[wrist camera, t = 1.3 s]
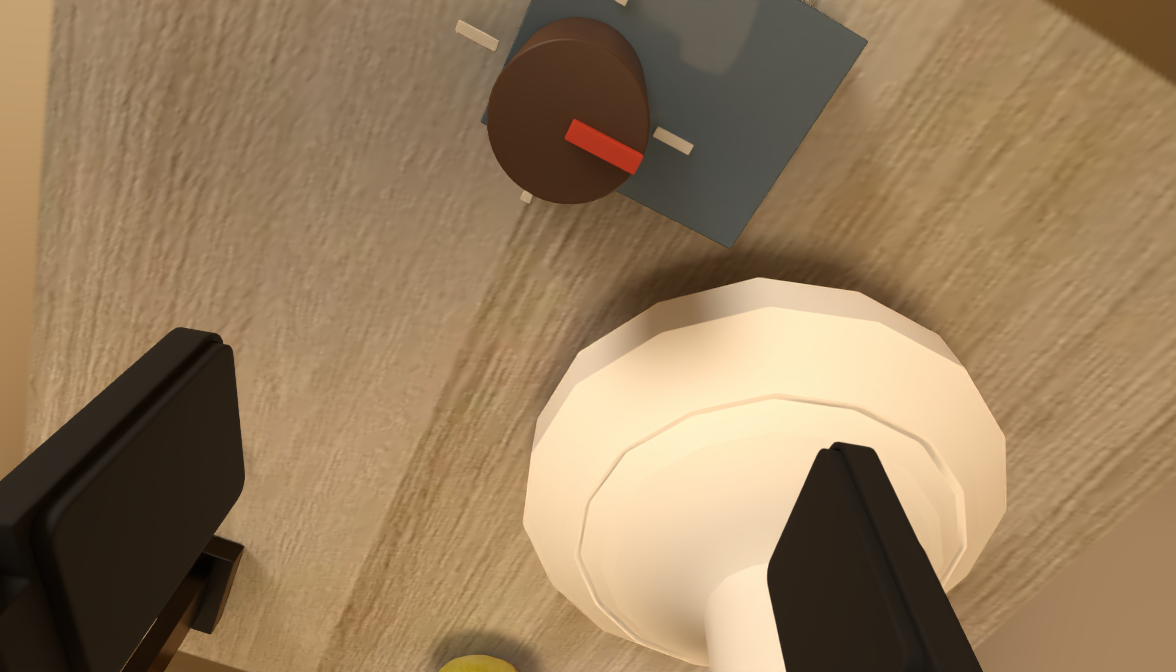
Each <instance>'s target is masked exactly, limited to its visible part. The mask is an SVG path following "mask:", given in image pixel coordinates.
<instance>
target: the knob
mask: <svg viewBox="0 0 1176 672" xmlns="http://www.w3.org/2000/svg"><path fill="white" fill-rule="evenodd" d="M487 130H488V135H489V140H490V144H491V147H492V150H493V152H494V154H495V156H496V158H497V160H498V162H499V164H500V165H501V167H502V168H503V170H504V171H505V172H506V173H507V175H508V176H509V177H510V178H511V179H512V180H513V181H514V182H515V183H516V184H517V185H518V186H520V187H521V188H522V189H524V190H525V191H527V192H529V193H530V194H532V195H534V196H536V197H538V198H541V199H543V200H546V201H550V202H554V203H560V204H581V203H587V202H591V201H594V200H597V199H600V198H603V197H605V196H606V195H608V194H610V193H612V192H613V191H615V190H616V189H618V188H619V187H620V186H622V185H623V184H624V183H625V182H626V181H627V180H628V179H629V178H630V176H631V175H634V174H635V172H636V170H637V168H638V167H639V165H640V163H641V161H642V159H643V156H644V153H645V150H646V147H647V144H648V139H649V134H650V112H649V105H648V98H647V91H646V84H645V78H644V73H643V68H642V65H641V62H640V60H639V58H638V56H637V54H636V52H635V50H634V49H633V47H632V46H631V44H630V43H629V42H628V41H627V39H626V38H625V37H624V36H623V35H622V34H620V33H619V32H618V31H617V30H615V29H614V28H612V27H611V26H609V25H607V24H605V23H603V22H601V21H598V20H594V19H590V18H584V17H571V18H564V19H560V20H557V21H554V22H552V23H550V24H547V25H546V26H544V27H543V28H541V29H539V30H538V31H537V32H536V33H535V34H533V35H532V36H531V38H530V39H529V40H528V41H527V42H526V43H525V44H524V45H523V47H522V48H521V49H520V50H519V51H518V52H517V54H516V55H515V56H514V57H513V58H512V59H511V61H510V62H509V63H508V64H507V65H506V66H505V67H504V69H503V70H502V72H501V73H500V75H499V76H498V78H497V80H496V82H495V84H494V86H493V89H492V91H491V94H490V98H489V103H488V108H487Z"/></svg>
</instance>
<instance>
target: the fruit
mask: <svg viewBox="0 0 1176 672" xmlns="http://www.w3.org/2000/svg"><path fill="white" fill-rule="evenodd" d="M439 672H519V671H518V670H517V669H516V668H515V667H514V666H512V665H511V664H510V663H509V662H507V661H505V660H502V659H498V658H494V657H491V656H488V655H468V656H463V657H459V658H456V659H453V660H451V661H450V662H448V663H447V664H446V665H444V666H443V667H442V668H441V669H440V671H439Z"/></svg>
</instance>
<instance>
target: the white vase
mask: <svg viewBox="0 0 1176 672" xmlns="http://www.w3.org/2000/svg"><path fill="white" fill-rule="evenodd" d="M834 442H844V443H850V444H856V445H861V446H867V447H871V448H873V449H874V450H875V451H876V453H877V455H878V457H879V459H880V461H881V463H882V465H883V467H884V469H885V472H886V474H887V476H888V478H889V480H890V482H891V484H892V486H893V488H894V490H895V493H896V495H897V497H898V499H899V501H900V503H901V505H902V507H903V509H904V511H905V513H906V516H907V518H908V520H909V522H910V524H911V526H912V528H913V530H914V532H915V534H916V536H917V539H918V541H919V543H920V544H921V546H922V547H923V549H924V550H925V552H926V554H927V556H928V558H929V560H930V563H931V565H932V567H933V569H934V571H935V573H936V575H937V577H938V579H939V581H940V583H941V585H942V588H943V590H944V592H945V594H946V593H947V592H948V591H949V590H950V589H952V588H953V587H954V586H955V585H956V584H958V583H959V582H960V581H961V580H963V579H964V578H965V577H966V576H967V575H968V574H969V572H970V570H971V569H972V567H973V565H974V564H975V562H976V561H977V559H978V557H979V556H980V554H981V552H982V551H983V549H984V547H985V546H986V544H987V542H988V541H989V539H990V537H991V536H992V534H993V532H994V531H995V529H996V527H997V526H998V524H999V522H1000V521H1001V519H1002V517H1003V516H1004V514H1005V512H1006V511H1007V505H1006V448H1005V436H1004V435H1003V433H1002V431H1001V429H1000V428H999V426H998V424H997V423H996V421H995V419H994V417H993V416H992V414H991V412H990V411H989V409H988V407H987V405H986V404H985V402H984V400H983V399H982V397H981V395H980V394H979V392H978V390H977V388H976V387H975V385H974V383H973V382H972V380H971V378H970V376H969V375H968V373H967V371H966V370H965V368H964V367H963V365H962V364H961V363H960V361H959V360H958V359H957V358H956V356H955V355H954V354H953V353H952V351H951V350H950V349H949V347H948V346H947V345H946V344H945V342H944V341H943V340H942V338H941V337H940V336H939V335H938V334H936V333H934V332H932V331H930V330H928V329H926V328H925V327H923V326H921V325H919V324H917V323H915V322H914V321H912V320H910V319H908V318H906V317H904V316H903V315H901V314H899V313H897V312H895V311H893V310H891V309H890V308H888V307H886V306H884V305H882V304H880V303H879V302H877V301H875V300H873V299H871V298H869V297H867V296H866V295H864V294H862V293H860V292H856V291H849V290H842V289H835V288H828V287H822V286H815V285H808V284H801V283H794V282H787V281H780V280H773V279H766V278H759V277H758V278H754V279H750V280H746V281H742V282H738V283H734V284H730V285H726V286H722V287H718V288H714V289H710V290H706V291H702V292H698V293H694V294H690V295H686V296H682V297H678V298H674V299H670V300H666V301H662V302H658V303H656V304H655V305H653V306H652V307H650V308H648V309H647V310H645V311H644V312H642V313H640V314H639V315H637V316H636V317H634V318H632V319H631V320H629V321H628V322H626V323H625V324H623V325H621V326H620V327H618V328H617V329H615V330H613V331H612V332H610V333H609V334H607V335H605V336H604V337H602V338H601V339H599V340H597V341H596V342H594V343H593V344H591V345H589V346H588V347H586V348H585V349H583V350H582V351H580V352H579V353H578V354H577V356H576V358H575V359H574V361H573V362H572V364H571V366H570V367H569V369H568V371H567V372H566V374H565V375H564V377H563V379H562V380H561V382H560V383H559V385H558V387H557V388H556V390H555V391H554V393H553V395H552V396H551V398H550V400H549V401H548V403H547V404H546V406H545V408H544V409H543V411H542V412H541V414H540V416H539V417H538V419H537V424H536V430H535V436H534V442H533V447H532V453H531V460H530V468H529V477H528V485H527V493H526V501H525V509H524V517H523V526H524V528H525V530H526V532H527V534H528V536H529V538H530V540H531V542H532V544H533V547H534V549H535V551H536V553H537V555H538V557H539V559H540V561H541V563H542V565H543V567H544V569H545V572H546V574H547V576H548V578H549V580H550V582H551V584H552V585H553V586H554V587H555V588H556V589H558V590H559V591H560V592H561V593H562V594H563V595H564V596H565V597H566V598H567V599H569V600H570V601H571V602H572V603H573V604H574V605H575V606H576V607H577V608H578V609H580V610H581V611H582V612H583V613H584V614H585V615H586V616H587V617H588V618H589V619H590V620H592V621H593V622H594V623H595V624H596V625H597V626H598V627H599V628H600V629H601V630H603V631H606V632H608V633H611V634H614V635H616V636H619V637H621V638H624V639H627V640H629V641H632V642H634V643H637V644H640V645H642V646H645V647H647V648H650V649H653V650H655V651H658V652H660V653H663V654H666V655H668V656H671V657H674V658H678V659H680V660H683V661H686V662H688V663H691V664H694V665H702V666H709V667H710V672H786V670H785V665H784V660H783V656H782V651H781V646H780V642H779V637H778V632H777V628H776V623H775V618H774V614H773V609H772V604H771V600H770V595H769V590H768V585H767V569H768V564H769V561H770V559H771V556H772V554H773V552H774V550H775V548H776V545H777V543H778V541H779V539H780V536H781V534H782V532H783V530H784V527H785V525H786V523H787V521H788V518H789V516H790V514H791V512H792V509H793V507H794V505H795V503H796V500H797V498H798V496H799V494H800V491H801V489H802V487H803V485H804V482H805V480H806V478H807V476H808V473H809V471H810V469H811V467H812V464H813V462H814V460H815V458H816V455H817V454H818V452H819V451H820V450H821V449H822V448H826V449H829V448H830V446H831V445H832V444H833V443H834Z"/></svg>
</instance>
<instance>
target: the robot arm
mask: <svg viewBox="0 0 1176 672" xmlns="http://www.w3.org/2000/svg"><path fill="white" fill-rule="evenodd" d="M244 480H245V470H244V460H243V449H242V439H241V429H240V418H239V408H238V397H237V387H236V376H235V366H234V356H233V350H232V348H231V346H229V345H226V344H223V340H222V338H221V337H220V335H218V334H216V333H211V332H206V331H200V330H194V329H188V328H183V327H178V328H175V329H173V330H172V331H171V332H169V333H168V334H167V335H166V336H165V337H164V338H163V339H161V340H160V341H159V342H158V343H157V344H156V345H155V346H153V347H152V348H151V349H150V350H149V351H148V352H147V353H145V354H144V355H143V356H142V357H141V358H140V359H139V360H138V361H136V362H135V363H134V364H133V365H132V366H131V367H130V368H128V369H127V370H126V371H125V372H124V373H123V374H122V375H120V376H119V377H118V378H117V379H116V380H115V381H114V382H112V383H111V384H110V385H109V386H108V387H107V388H106V389H105V390H103V391H102V392H101V393H100V394H99V395H98V396H97V397H95V398H94V399H93V400H92V401H91V402H90V403H89V404H87V405H86V406H85V407H84V408H83V409H82V410H81V411H79V412H78V413H77V414H76V415H75V416H74V417H73V418H71V419H70V420H69V421H68V422H67V423H66V424H65V425H64V426H62V427H61V428H60V429H59V430H58V431H57V432H56V433H54V434H53V435H52V436H51V437H50V438H49V439H48V440H46V441H45V442H44V443H43V444H42V445H41V446H40V447H38V448H37V449H36V450H35V451H34V452H33V453H32V454H31V455H29V456H28V457H27V458H26V459H25V460H24V461H23V462H21V463H20V464H19V465H18V466H17V467H16V468H15V469H14V470H13V471H11V472H10V473H9V474H8V475H7V476H6V477H4V478H3V479H2V480H1V481H0V672H120V670H121V669H122V668H123V666H124V665H125V663H126V662H127V660H128V659H129V657H130V656H131V654H132V653H133V652H134V650H135V648H136V647H137V646H138V644H139V643H140V641H141V640H142V638H143V637H144V636H145V634H146V633H147V631H148V630H149V628H150V627H151V625H152V624H153V622H154V621H155V619H156V618H157V617H158V615H159V614H160V612H161V611H162V609H163V608H164V606H165V605H166V603H167V602H168V600H169V599H170V598H171V596H172V595H173V593H174V592H175V590H176V589H177V587H178V586H179V584H180V583H181V581H182V580H183V579H184V577H185V576H186V574H187V573H188V571H189V570H190V568H191V567H192V565H193V564H194V562H195V561H196V560H197V558H198V557H199V555H200V554H201V552H202V551H203V549H204V548H205V546H206V545H207V543H208V542H209V541H210V539H211V538H212V536H213V535H214V533H215V532H216V530H217V529H218V527H219V526H220V524H221V523H222V522H223V520H224V519H225V517H226V516H227V514H228V513H229V511H230V510H231V508H232V507H233V505H234V504H235V503H236V501H237V500H238V498H239V496H240V494H241V492H242V489H243V485H244ZM767 585H768V590H769V595H770V600H771V604H772V609H773V614H774V618H775V623H776V628H777V632H778V637H779V642H780V646H781V651H782V656H783V660H784V665H785V670H786V672H983V671H982V669H981V667H980V665H979V662H978V661H977V658H976V656H975V654H974V652H973V650H972V648H971V646H970V644H969V642H968V640H967V637H966V635H965V633H964V631H963V629H962V627H961V625H960V623H959V621H958V619H957V617H956V615H955V613H954V610H953V608H952V606H951V604H950V602H949V600H948V598H947V596H946V594H945V592H944V590H943V588H942V585H941V583H940V581H939V579H938V577H937V575H936V573H935V571H934V569H933V567H932V565H931V563H930V560H929V558H928V556H927V554H926V552H925V550H924V549H923V547H922V546H921V544H920V543H919V541H918V539H917V536H916V534H915V532H914V530H913V528H912V526H911V524H910V522H909V520H908V518H907V516H906V513H905V511H904V509H903V507H902V505H901V503H900V501H899V499H898V497H897V495H896V493H895V490H894V488H893V486H892V484H891V482H890V480H889V478H888V476H887V474H886V472H885V469H884V467H883V465H882V463H881V461H880V459H879V457H878V455H877V453H876V451H875V450H874V449H873V448H871V447H867V446H861V445H856V444H850V443H844V442H834V443H833V444H832V445H831V446H830V448H829V449H826V448H822V449H821V450H820V451H819V452H818V454H817V455H816V458H815V460H814V462H813V464H812V467H811V469H810V471H809V473H808V476H807V478H806V480H805V482H804V485H803V487H802V489H801V491H800V494H799V496H798V498H797V500H796V503H795V505H794V507H793V509H792V512H791V514H790V516H789V518H788V521H787V523H786V525H785V527H784V530H783V532H782V534H781V536H780V539H779V541H778V543H777V545H776V548H775V550H774V552H773V554H772V556H771V559H770V561H769V564H768V569H767Z"/></svg>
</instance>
